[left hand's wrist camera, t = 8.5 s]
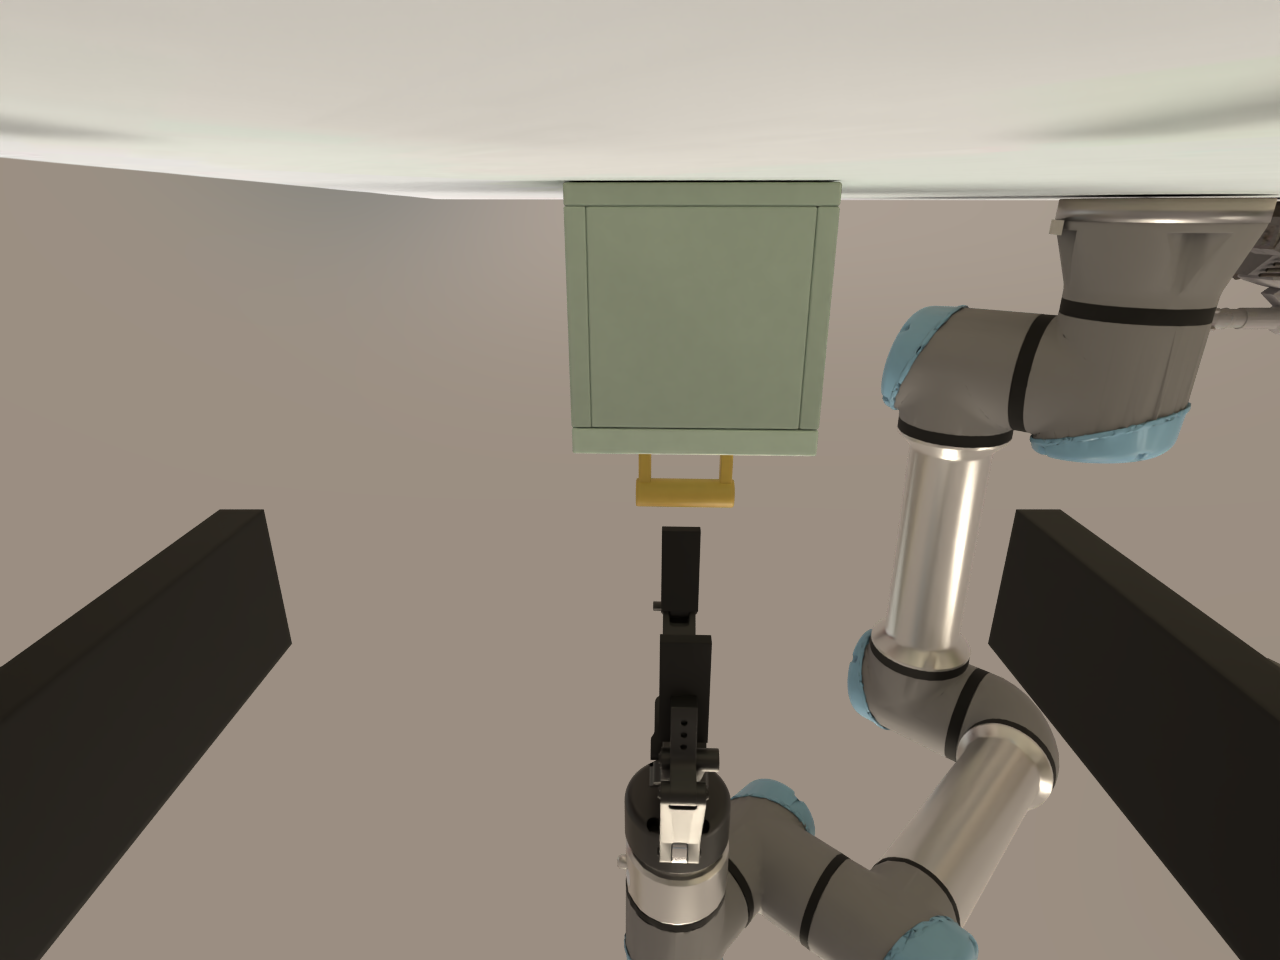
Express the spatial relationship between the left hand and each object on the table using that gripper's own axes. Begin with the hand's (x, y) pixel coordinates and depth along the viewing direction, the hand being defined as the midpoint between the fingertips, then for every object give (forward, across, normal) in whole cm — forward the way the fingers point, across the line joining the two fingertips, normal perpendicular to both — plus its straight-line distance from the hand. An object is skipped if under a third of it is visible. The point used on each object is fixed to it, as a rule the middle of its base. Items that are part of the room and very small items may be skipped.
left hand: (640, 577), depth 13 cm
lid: (+23, -3, +2) cm, 24 cm away
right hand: (+27, -3, +15) cm, 31 cm away
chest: (+23, -2, -7) cm, 24 cm away
